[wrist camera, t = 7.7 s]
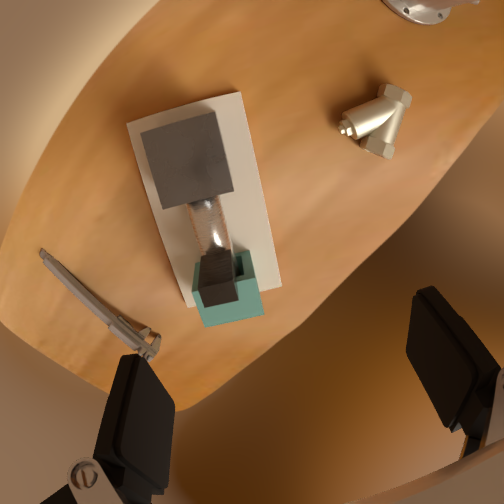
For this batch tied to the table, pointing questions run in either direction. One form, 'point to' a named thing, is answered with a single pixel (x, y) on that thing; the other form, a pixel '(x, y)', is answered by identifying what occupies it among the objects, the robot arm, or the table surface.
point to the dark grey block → (188, 160)
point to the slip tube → (214, 252)
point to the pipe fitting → (377, 120)
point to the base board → (234, 203)
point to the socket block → (235, 310)
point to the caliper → (104, 312)
